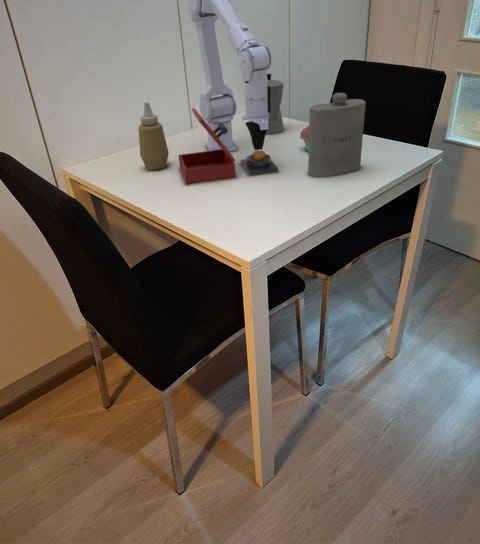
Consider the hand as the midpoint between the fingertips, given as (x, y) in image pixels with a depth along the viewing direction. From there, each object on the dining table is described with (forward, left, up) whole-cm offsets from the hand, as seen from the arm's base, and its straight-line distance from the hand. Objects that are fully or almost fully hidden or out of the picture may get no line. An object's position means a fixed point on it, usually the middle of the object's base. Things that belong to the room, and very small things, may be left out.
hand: (258, 148), depth 132 cm
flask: (+10, +19, -6) cm, 22 cm away
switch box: (0, 0, -5) cm, 5 cm away
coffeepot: (-31, +13, -6) cm, 34 cm away
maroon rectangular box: (-1, -14, -5) cm, 16 cm away
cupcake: (-8, +20, -6) cm, 22 cm away
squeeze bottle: (-12, -27, -6) cm, 31 cm away
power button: (0, 0, -3) cm, 3 cm away
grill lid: (-1, -12, +5) cm, 13 cm away
